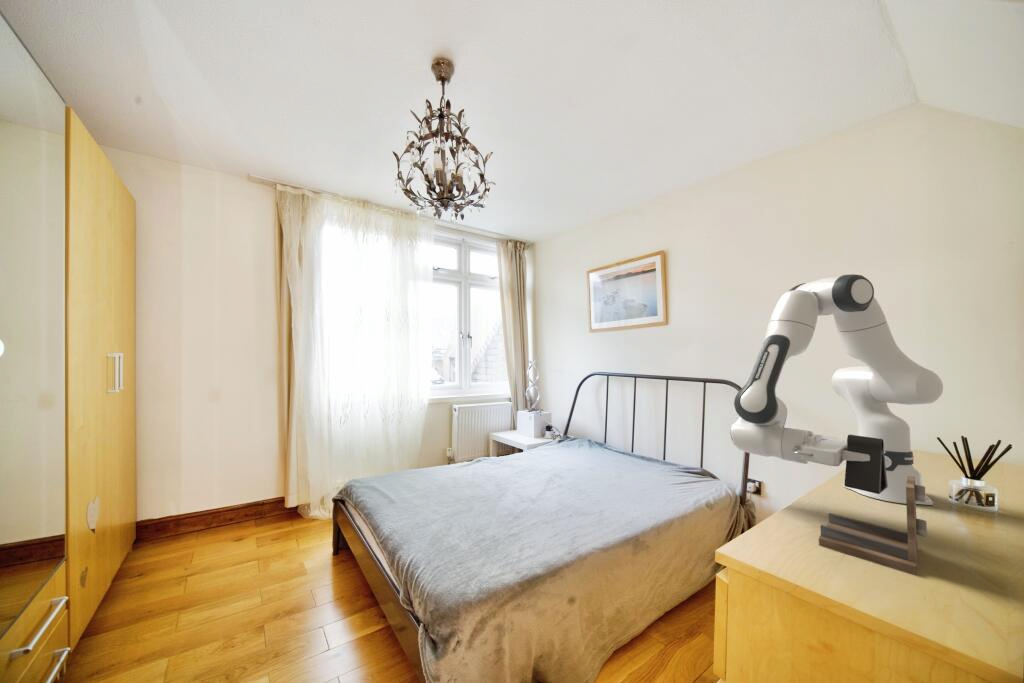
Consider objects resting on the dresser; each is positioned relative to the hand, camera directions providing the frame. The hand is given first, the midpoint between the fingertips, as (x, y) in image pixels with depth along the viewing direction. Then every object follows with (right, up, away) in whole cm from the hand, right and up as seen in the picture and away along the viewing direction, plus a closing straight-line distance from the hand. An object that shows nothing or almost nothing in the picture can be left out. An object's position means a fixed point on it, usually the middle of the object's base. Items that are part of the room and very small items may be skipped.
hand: (870, 457), depth 87 cm
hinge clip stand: (-10, -16, -10) cm, 21 cm away
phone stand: (-1, -8, 0) cm, 8 cm away
